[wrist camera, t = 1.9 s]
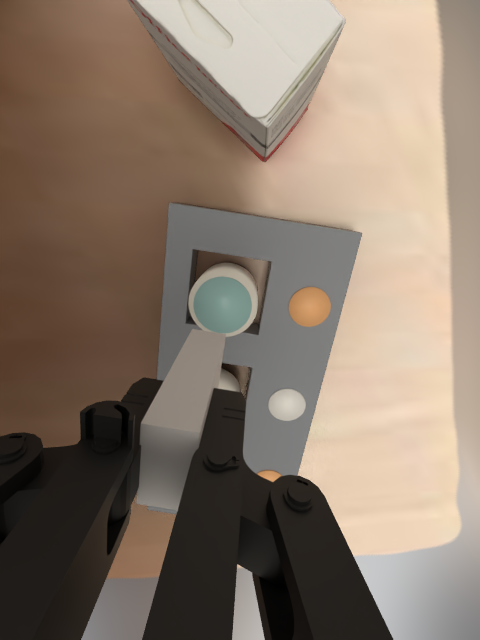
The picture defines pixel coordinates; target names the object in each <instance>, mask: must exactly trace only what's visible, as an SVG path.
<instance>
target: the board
mask: <svg viewBox="0 0 480 640" xmlns="http://www.w3.org/2000/svg"><path fill="white" fill-rule="evenodd" d="M361 236H362V233H360V232H356V231H352V230H346V229H340V228H333V227H327V226H321V225H314V224H308V223H302V222H296V221H289V220H283V219H277V218H270V217H264V216H258V215H251V214H245V213H239V212H232V211H226V210H220V209H213V208H207V207H201V206H194V205H188V204H182V203H169V212H168V226H167V240H166V255H165V269H164V283H163V298H162V312H161V326H160V340H159V355H158V369H157V380H162V381H164V380H165V378H166V376H167V374H168V372H169V371H170V369H171V367H172V365H173V363H174V361H175V360H176V358H177V356H178V354H179V352H180V350H181V349H182V347H183V345H184V343H185V341H186V339H187V338H188V336H189V334H190V332H191V330H192V329H196V330H202V329H201V328H200V327H199V326H198V325H197V324H196V323H195V322H194V320H193V318H192V316H191V314H190V311H189V304H188V303H189V295H190V292H191V289H192V287H193V286H194V283H195V274H196V264H197V254H198V250H202V251H208V252H214V253H221V254H227V255H233V256H240V257H246V258H252V259H258V260H265V261H270V264H269V269H268V275H267V280H266V286H265V292H264V297H263V303H262V308H261V314H260V319H259V324H253V323H251V325H250V326H249V327H248V328H247V329H246V330H244V331H243V332H241V333H240V334H237V335H234V336H230V337H226V338H225V345H224V352H223V358H222V363H226V364H233V365H239V366H245V367H251V370H250V375H249V381H248V386H247V392H246V397H245V400H246V414H245V428H244V442H243V458H244V460H245V462H246V464H247V465H248V467H249V468H250V469H251V470H252V471H253V472H255V473H256V474H258V475H259V476H261V477H263V478H265V479H267V480H270V481H272V482H274V481H275V480H276V479H278V478H279V477H280V476H285V475H296V476H297V475H298V471H299V467H300V464H301V460H302V456H303V452H304V449H305V445H306V441H307V437H308V434H309V430H310V426H311V423H312V419H313V415H314V411H315V408H316V404H317V400H318V396H319V393H320V389H321V385H322V382H323V378H324V374H325V370H326V367H327V363H328V359H329V355H330V352H331V348H332V344H333V341H334V337H335V333H336V329H337V326H338V322H339V318H340V315H341V311H342V307H343V303H344V300H345V296H346V292H347V288H348V285H349V281H350V277H351V274H352V270H353V266H354V262H355V259H356V255H357V251H358V247H359V244H360V240H361ZM148 510H153V511H159V512H165V513H172V514H177V510H172V509H166V508H160V507H154V506H148Z"/></svg>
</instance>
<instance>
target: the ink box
mask: <svg viewBox="0 0 480 640" xmlns="http://www.w3.org/2000/svg"><path fill="white" fill-rule="evenodd" d="M127 1H128V2H129V4H130V5H131V7H132V8H133V10H134V11H135V13H136V14H137V16H138V17H139V19H140V20H141V22H142V23H143V25H144V26H145V28H146V29H147V31H148V32H149V34H150V35H151V37H152V39H153V40H154V42H155V43H156V45H157V46H158V48H159V49H160V51H161V52H162V54H163V55H164V57H165V59H166V60H167V62H168V63H169V65H170V66H171V68H172V70H173V71H174V73H175V74H176V76H177V78H178V79H179V80H180V81H181V82H182V83H183V84H184V85H185V86H186V87H187V88H188V89H189V90H190V91H191V92H192V93H193V94H194V95H195V96H196V97H197V98H198V99H199V100H200V101H201V102H202V103H203V104H204V105H205V106H206V107H207V108H208V109H209V110H210V111H211V112H212V113H213V114H214V115H215V116H216V117H217V118H218V119H220V120H221V121H222V122H223V123H224V124H225V125H226V126H227V127H228V128H229V129H230V130H231V131H232V132H233V133H234V134H235V135H236V136H237V137H238V138H239V139H240V140H241V141H242V142H243V143H244V144H245V145H246V146H247V147H248V148H249V149H250V150H251V151H252V152H253V153H254V154H255V155H256V156H257V157H258V158H260V159H261V160H262V161H263V162H266V161H267V160H268V159H269V158H270V156H271V155H272V154H273V153H274V152H275V151H276V150H277V149H278V147H279V146H280V145H281V144H282V143H283V141H284V140H285V139H286V138H287V137H288V135H289V134H290V133H291V132H292V130H293V129H294V128H295V126H296V125H297V124H298V122H299V121H300V119H301V118H302V116H303V115H304V113H305V112H306V111H307V110H308V105H309V103H310V101H311V99H312V97H313V94H314V92H315V90H316V88H317V86H318V83H319V81H320V79H321V77H322V75H323V73H324V70H325V68H326V66H327V63H328V61H329V59H330V56H331V54H332V52H333V50H334V47H335V45H336V43H337V41H338V38H339V36H340V34H341V32H342V29H343V27H344V25H345V21H346V20H345V18H344V17H343V16H342V15H341V14H340V12H339V11H338V10H337V9H336V7H335V6H334V5H333V4H332V3H331V2H330V1H329V0H127Z"/></svg>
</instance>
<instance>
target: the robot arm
mask: <svg viewBox="0 0 480 640" xmlns="http://www.w3.org/2000/svg"><path fill="white" fill-rule="evenodd" d="M225 338H226V334H221V333H215V332H209V331H203V330H196V329H192V330H191V332H190V334H189V336H188V338H187V339H186V341H185V343H184V345H183V347H182V349H181V350H180V352H179V354H178V356H177V358H176V360H175V361H174V363H173V365H172V367H171V369H170V371H169V372H168V374H167V376H166V378H165V380H164V381H162V380H156V379H150V378H142V379H141V380H139V381H137V382H136V383H134V384H133V385H132V386H131V387H130V389H129V390H128V392H127V394H126V395H125V396H124V397H123V399H122V400H121V402H119V401H102V402H97V403H94V404H92V405H90V406H87V407H86V408H85V409H83V410H82V411H81V412H80V425H81V440H80V441H79V442H78V444H76V445H71V446H64V447H51V448H43V445H42V442H41V439H40V438H39V437H37V436H36V435H34V434H30V433H12V434H8V435H4V436H1V437H0V640H81V638H82V636H83V633H84V631H85V628H86V626H87V624H88V621H89V619H90V616H91V614H92V611H93V609H94V607H95V604H96V602H97V599H98V597H99V594H100V592H101V589H102V587H103V585H104V582H105V580H106V577H107V575H108V572H109V570H110V568H111V565H112V563H113V560H114V558H115V555H116V553H117V550H118V548H119V546H120V543H121V541H122V538H123V536H124V533H125V531H126V528H127V526H128V524H129V520H130V514H131V504H132V502H133V499H134V497H135V495H136V492H137V504H142V505H148V506H154V507H160V508H166V509H172V510H178V511H177V514H176V518H175V522H174V525H173V529H172V533H171V536H170V540H169V544H168V547H167V551H166V554H165V558H164V562H163V565H162V569H161V573H160V576H159V581H158V584H157V587H156V591H155V595H154V598H153V602H152V606H151V610H150V613H149V616H148V620H147V624H146V628H145V631H144V635H143V638H142V640H232V630H233V616H234V602H235V587H236V572H237V564H238V565H240V566H242V567H244V568H245V569H248V570H249V571H251V572H252V574H253V581H254V586H255V591H256V596H257V601H258V606H259V612H260V617H261V621H262V627H263V632H264V637H265V640H393V638H392V636H391V634H390V632H389V630H388V627H387V626H386V623H385V621H384V619H383V618H382V615H381V613H380V611H379V609H378V607H377V605H376V602H375V600H374V598H373V596H372V594H371V592H370V590H369V588H368V586H367V584H366V582H365V580H364V577H363V575H362V573H361V571H360V569H359V567H358V565H357V563H356V561H355V559H354V557H353V555H352V552H351V550H350V548H349V546H348V544H347V542H346V540H345V538H344V536H343V534H342V532H341V530H340V527H339V525H338V523H337V521H336V519H335V517H334V515H333V513H332V511H331V509H330V507H329V505H328V502H327V500H326V498H325V496H324V495H323V493H322V492H321V490H320V489H319V488H318V487H317V486H316V485H315V484H314V483H312V482H311V481H310V480H308V479H305V478H303V477H301V476H296V475H285V476H280V477H279V478H278V479H276V480H275V481H274V482H272V481H270V480H267V479H265V478H263V477H261V476H259V475H258V474H256V473H255V472H253V471H252V470H251V469H250V468H249V467H248V465H247V464H246V462H245V460H244V458H243V442H244V428H245V414H246V400H245V398H244V396H243V394H242V393H241V392H237V391H230V390H224V389H218V386H219V379H220V372H221V365H222V358H223V352H224V345H225Z"/></svg>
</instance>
